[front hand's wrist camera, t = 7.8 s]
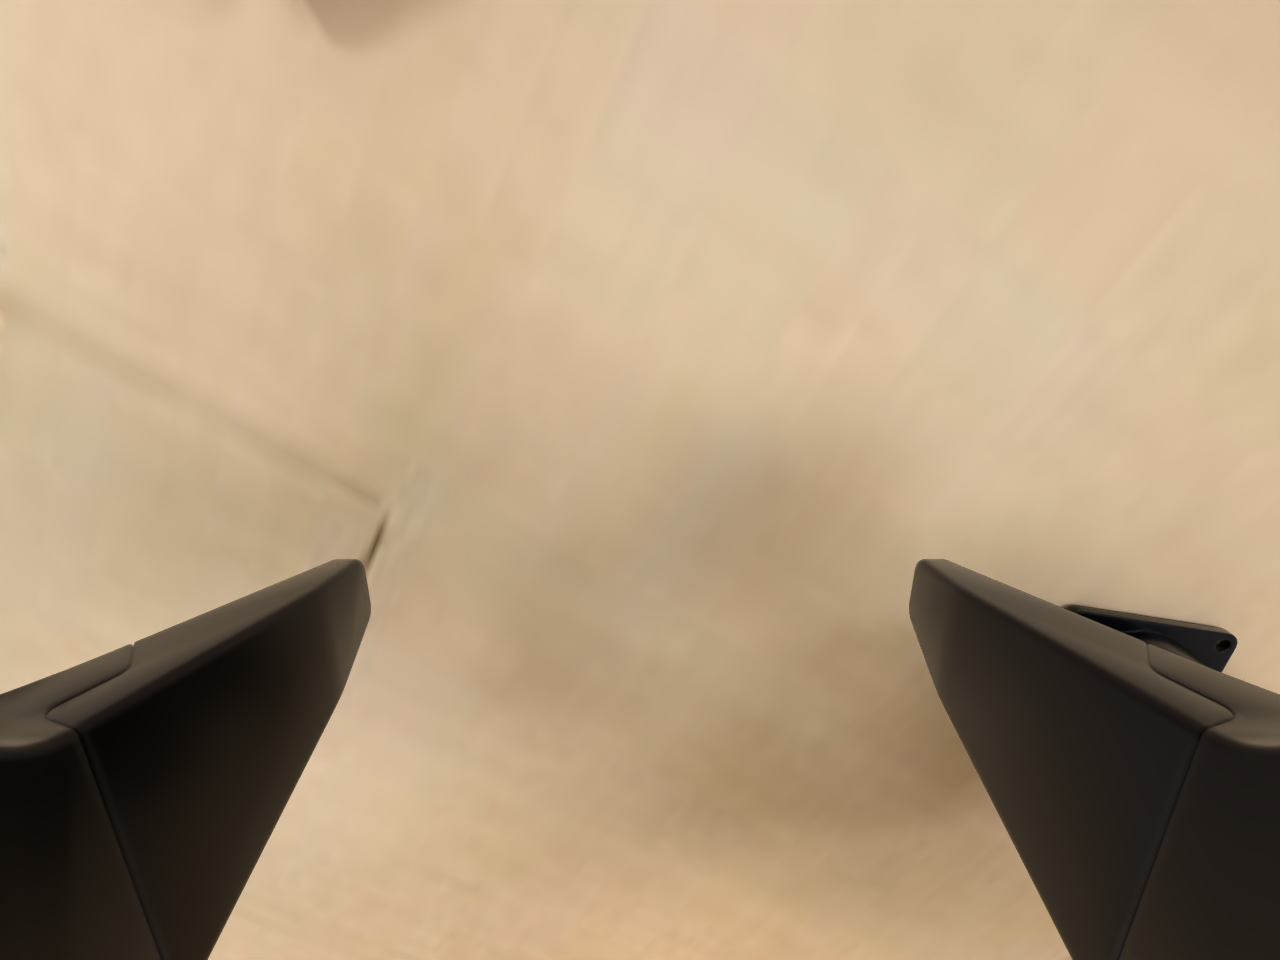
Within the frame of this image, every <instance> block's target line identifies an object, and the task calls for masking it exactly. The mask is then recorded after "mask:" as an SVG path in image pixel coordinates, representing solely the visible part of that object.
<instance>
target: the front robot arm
mask: <svg viewBox="0 0 1280 960" xmlns="http://www.w3.org/2000/svg"><path fill="white" fill-rule="evenodd" d="M370 613H371V603H370V597H369V591H368V585H367V578H366V572H365V568H364V565H363V563H362V562H361V561H360V560H357V559H336V560H332V561H330V562H328V563H325V564H323V565H320V566H318V567H315V568H313V569H311V570H308V571H306V572H303V573H301V574H299V575H296V576H294V577H291V578H289V579H286V580H284V581H282V582H279V583H277V584H274V585H272V586H270V587H267V588H265V589H262V590H260V591H257V592H255V593H253V594H250V595H248V596H245V597H243V598H240V599H238V600H236V601H233V602H231V603H228V604H226V605H224V606H221V607H219V608H216V609H214V610H211V611H209V612H207V613H204V614H202V615H199V616H197V617H195V618H192V619H190V620H187V621H185V622H182V623H180V624H178V625H175V626H173V627H170V628H168V629H165V630H163V631H161V632H158V633H156V634H153V635H151V636H149V637H146V638H144V639H141V640H139V641H136V642H135V643H134V646H133V645H131V644H130V645H126V646H124V647H122V648H119V649H117V650H114V651H112V652H110V653H107V654H105V655H102V656H100V657H97V658H95V659H92V660H90V661H87V662H85V663H82V664H80V665H77V666H75V667H72V668H70V669H67V670H65V671H62V672H59V673H57V674H54V675H51V676H49V677H46V678H43V679H41V680H38V681H35V682H33V683H30V684H28V685H25V686H22V687H20V688H17V689H14V690H11V691H9V692H6V693H3V694H0V960H208V958H209V956H210V954H211V952H212V950H213V948H214V946H215V944H216V942H217V940H218V938H219V936H220V934H221V932H222V930H223V928H224V926H225V924H226V922H227V920H228V918H229V916H230V914H231V912H232V910H233V908H234V906H235V904H236V902H237V900H238V898H239V897H240V895H241V893H242V891H243V889H244V887H245V885H246V883H247V881H248V879H249V877H250V875H251V873H252V871H253V869H254V867H255V865H256V863H257V861H258V859H259V857H260V855H261V853H262V851H263V849H264V847H265V845H266V843H267V841H268V839H269V837H270V835H271V833H272V831H273V830H274V828H275V826H276V824H277V822H278V820H279V818H280V816H281V814H282V812H283V810H284V808H285V806H286V804H287V802H288V800H289V798H290V796H291V794H292V792H293V790H294V788H295V786H296V784H297V782H298V780H299V778H300V776H301V774H302V772H303V770H304V768H305V766H306V764H307V763H308V761H309V759H310V757H311V755H312V753H313V751H314V749H315V747H316V745H317V743H318V741H319V739H320V737H321V735H322V733H323V731H324V729H325V727H326V725H327V723H328V721H329V719H330V717H331V715H332V713H333V711H334V709H335V707H336V705H337V703H338V701H339V699H340V697H341V695H342V692H343V690H344V687H345V685H346V682H347V679H348V677H349V674H350V671H351V668H352V666H353V663H354V660H355V657H356V655H357V652H358V649H359V646H360V644H361V641H362V638H363V635H364V633H365V630H366V627H367V624H368V622H369V618H370ZM909 613H910V618H911V621H912V624H913V627H914V630H915V632H916V635H917V638H918V641H919V643H920V646H921V649H922V652H923V655H924V657H925V660H926V663H927V666H928V668H929V671H930V674H931V677H932V679H933V682H934V685H935V687H936V690H937V692H938V695H939V697H940V699H941V701H942V703H943V705H944V707H945V709H946V711H947V713H948V715H949V717H950V719H951V721H952V723H953V725H954V727H955V729H956V731H957V733H958V735H959V737H960V739H961V741H962V743H963V745H964V747H965V749H966V751H967V753H968V755H969V757H970V759H971V761H972V763H973V764H974V766H975V768H976V770H977V772H978V774H979V776H980V778H981V780H982V782H983V784H984V786H985V788H986V790H987V792H988V794H989V796H990V798H991V800H992V802H993V804H994V806H995V808H996V810H997V812H998V814H999V816H1000V818H1001V820H1002V822H1003V824H1004V826H1005V828H1006V830H1007V831H1008V833H1009V835H1010V837H1011V839H1012V841H1013V843H1014V845H1015V847H1016V849H1017V851H1018V853H1019V855H1020V857H1021V859H1022V861H1023V863H1024V865H1025V867H1026V869H1027V871H1028V873H1029V875H1030V877H1031V879H1032V881H1033V883H1034V885H1035V887H1036V889H1037V891H1038V893H1039V895H1040V897H1041V899H1042V900H1043V902H1044V904H1045V906H1046V908H1047V910H1048V912H1049V914H1050V916H1051V918H1052V920H1053V922H1054V924H1055V926H1056V928H1057V930H1058V932H1059V934H1060V936H1061V938H1062V940H1063V942H1064V944H1065V946H1066V948H1067V950H1068V952H1069V954H1070V956H1071V958H1072V960H1280V694H1277V693H1274V692H1271V691H1269V690H1266V689H1263V688H1260V687H1258V686H1255V685H1252V684H1250V683H1247V682H1245V681H1242V680H1239V679H1237V678H1234V677H1231V676H1229V675H1226V674H1223V673H1221V672H1222V671H1223V669H1224V667H1225V666H1226V664H1227V662H1228V660H1229V659H1230V657H1231V655H1232V653H1233V652H1234V650H1235V648H1236V646H1237V639H1236V638H1235V636H1234V635H1232V634H1231V633H1229V632H1228V631H1227V630H1225V629H1222V628H1218V627H1212V626H1205V625H1199V624H1192V623H1186V622H1180V621H1173V620H1167V619H1160V618H1154V617H1147V616H1141V615H1134V614H1128V613H1122V612H1115V611H1109V610H1102V609H1096V608H1089V607H1083V606H1072V607H1069V608H1067V609H1064V608H1061V607H1059V606H1056V605H1054V604H1052V603H1049V602H1047V601H1044V600H1042V599H1040V598H1037V597H1035V596H1032V595H1030V594H1027V593H1025V592H1023V591H1020V590H1018V589H1015V588H1013V587H1010V586H1008V585H1006V584H1003V583H1001V582H998V581H996V580H994V579H991V578H989V577H986V576H984V575H981V574H979V573H977V572H974V571H972V570H969V569H967V568H965V567H962V566H960V565H957V564H955V563H952V562H950V561H948V560H944V559H923V560H920V561H919V562H918V563H917V565H916V568H915V572H914V578H913V585H912V591H911V597H910V603H909ZM1218 642H1219V643H1218ZM1217 643H1218V644H1217Z"/></svg>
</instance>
